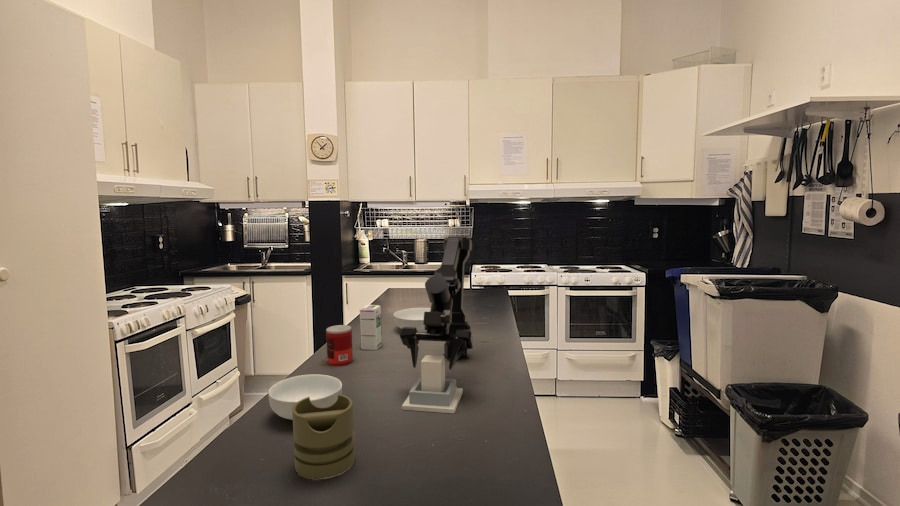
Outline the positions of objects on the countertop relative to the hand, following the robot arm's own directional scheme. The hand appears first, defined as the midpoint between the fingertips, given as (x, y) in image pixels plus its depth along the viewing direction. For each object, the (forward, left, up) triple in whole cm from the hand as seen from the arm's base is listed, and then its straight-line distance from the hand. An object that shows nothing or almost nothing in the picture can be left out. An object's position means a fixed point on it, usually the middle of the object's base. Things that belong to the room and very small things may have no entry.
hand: (431, 368), depth 122 cm
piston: (+30, +17, -9) cm, 35 cm away
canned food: (+15, -41, -9) cm, 45 cm away
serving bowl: (-21, -64, -9) cm, 68 cm away
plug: (-1, -1, -8) cm, 8 cm away
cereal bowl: (+30, -7, -9) cm, 32 cm away
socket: (-1, -1, -9) cm, 9 cm away
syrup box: (+2, -51, -9) cm, 52 cm away
